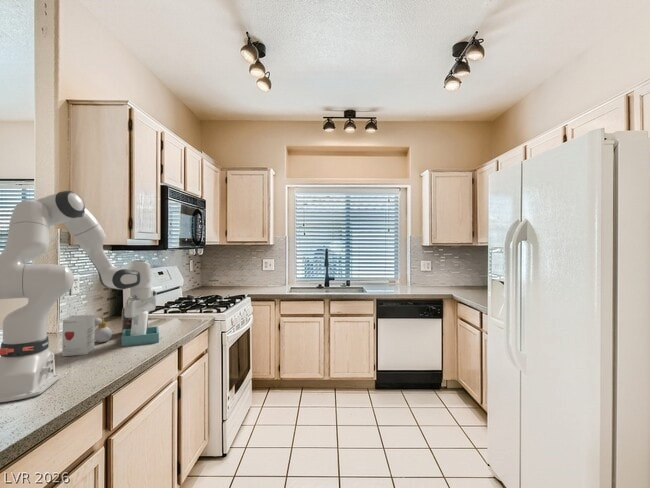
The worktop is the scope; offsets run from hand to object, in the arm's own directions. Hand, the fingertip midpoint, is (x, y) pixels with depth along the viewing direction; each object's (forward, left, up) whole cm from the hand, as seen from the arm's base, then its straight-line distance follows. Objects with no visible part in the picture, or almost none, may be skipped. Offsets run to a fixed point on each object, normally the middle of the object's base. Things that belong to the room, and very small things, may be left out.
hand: (140, 323), depth 165 cm
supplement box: (-9, +23, -8) cm, 26 cm away
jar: (+18, +3, -8) cm, 20 cm away
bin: (0, 0, -8) cm, 8 cm away
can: (-1, +1, -6) cm, 6 cm away
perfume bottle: (+4, +16, -8) cm, 18 cm away
